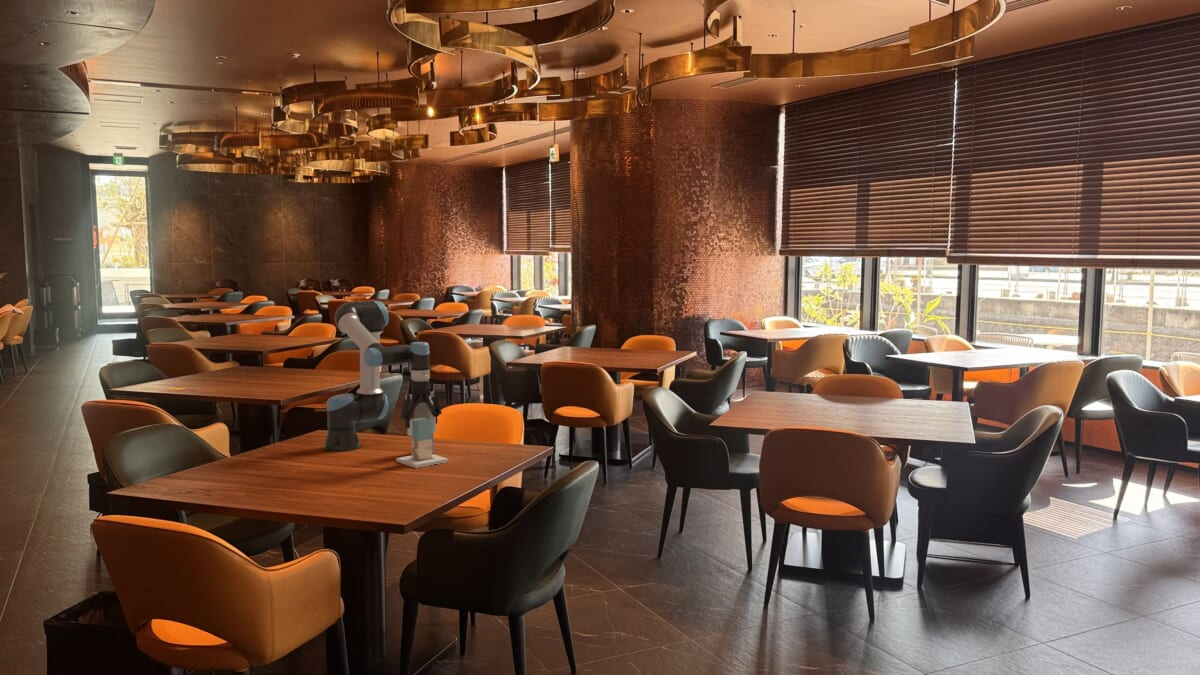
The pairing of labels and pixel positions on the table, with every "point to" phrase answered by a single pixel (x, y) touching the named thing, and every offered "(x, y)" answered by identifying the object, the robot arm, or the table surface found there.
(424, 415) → the thermos bottle
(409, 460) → the base plate
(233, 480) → the table surface
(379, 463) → the table surface
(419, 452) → the maple block
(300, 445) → the table surface
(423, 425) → the teal block
